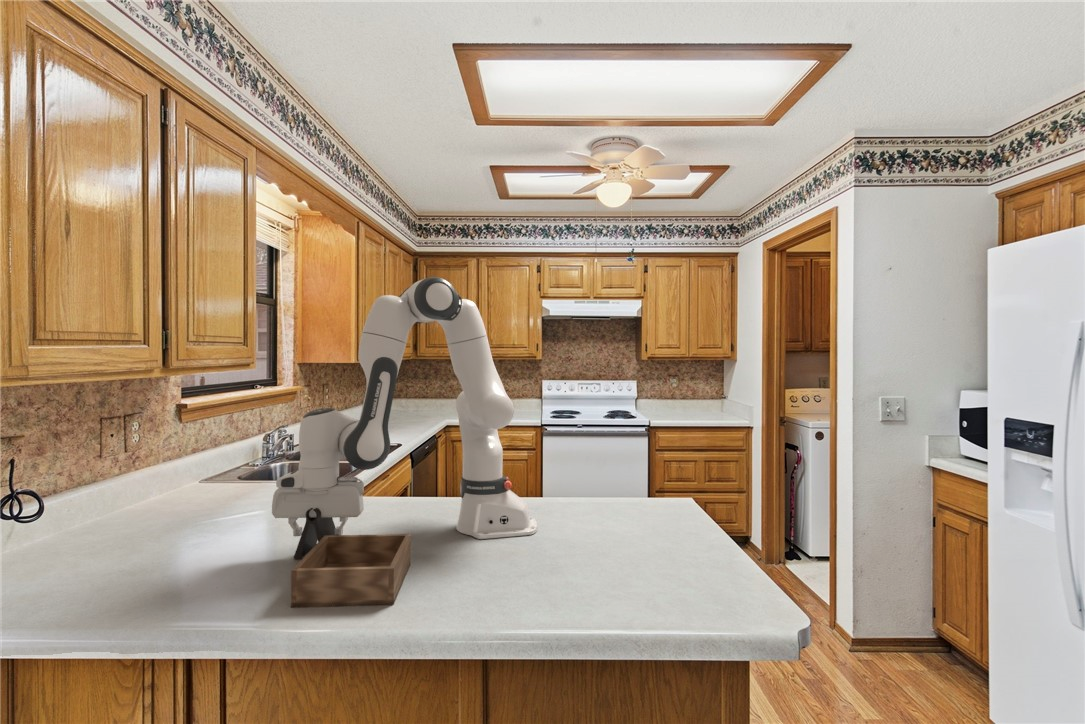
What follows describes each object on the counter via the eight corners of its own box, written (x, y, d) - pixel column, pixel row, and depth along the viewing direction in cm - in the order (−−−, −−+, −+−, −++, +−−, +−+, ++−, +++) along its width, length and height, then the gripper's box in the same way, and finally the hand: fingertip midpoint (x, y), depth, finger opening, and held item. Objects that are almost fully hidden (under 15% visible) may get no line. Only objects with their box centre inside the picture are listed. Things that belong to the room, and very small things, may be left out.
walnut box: (410, 564, 118) (410, 534, 118) (393, 604, 99) (393, 568, 99) (324, 566, 116) (324, 535, 116) (290, 607, 97) (291, 570, 97)
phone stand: (343, 552, 125) (343, 502, 125) (329, 562, 119) (329, 510, 119) (308, 549, 126) (309, 500, 126) (293, 559, 120) (293, 508, 120)
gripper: (367, 474, 126) (366, 530, 126) (280, 474, 125) (280, 531, 125) (360, 480, 120) (359, 539, 120) (268, 480, 118) (268, 540, 118)
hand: (318, 535), depth 122 cm, fingers open, 8 cm apart
